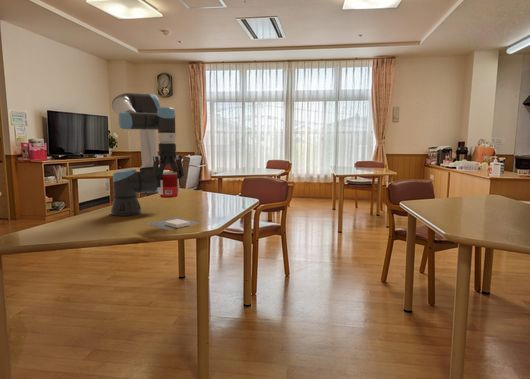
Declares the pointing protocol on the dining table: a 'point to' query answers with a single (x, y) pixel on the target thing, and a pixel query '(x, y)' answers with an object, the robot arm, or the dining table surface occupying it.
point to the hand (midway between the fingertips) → (168, 193)
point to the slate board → (162, 225)
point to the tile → (177, 223)
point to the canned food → (169, 184)
